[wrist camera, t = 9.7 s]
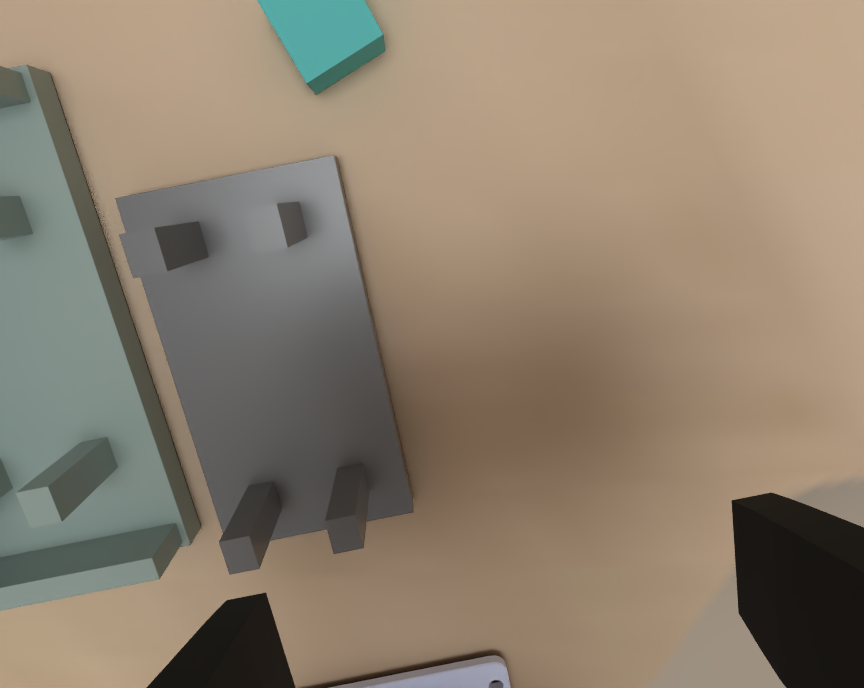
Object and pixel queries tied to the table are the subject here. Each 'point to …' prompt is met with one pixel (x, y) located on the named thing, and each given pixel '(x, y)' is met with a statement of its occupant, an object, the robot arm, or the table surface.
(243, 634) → the robot arm
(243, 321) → the stand
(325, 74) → the teal pixel shape
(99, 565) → the rack
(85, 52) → the table surface
